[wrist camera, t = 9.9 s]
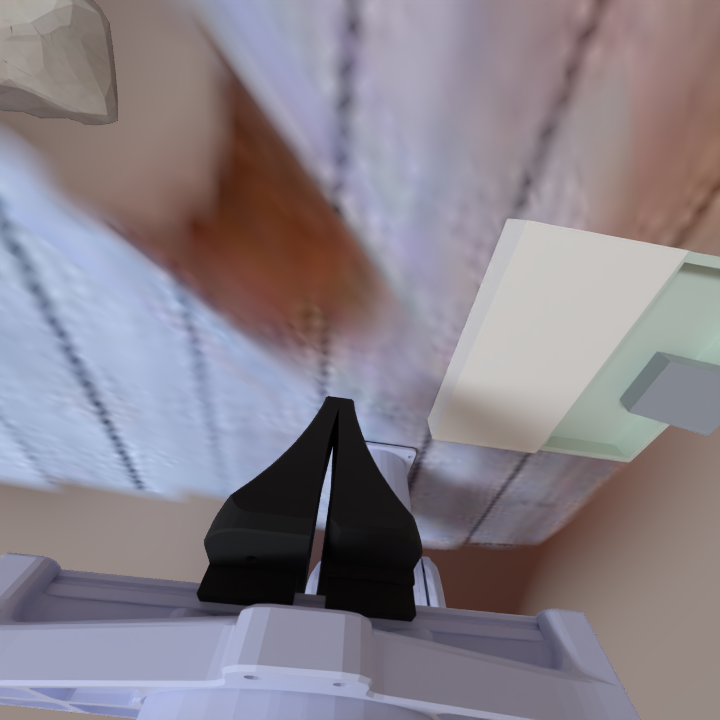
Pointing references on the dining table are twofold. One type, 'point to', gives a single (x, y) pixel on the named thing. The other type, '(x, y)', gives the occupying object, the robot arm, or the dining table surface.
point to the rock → (57, 60)
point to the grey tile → (677, 393)
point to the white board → (543, 331)
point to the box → (644, 364)
